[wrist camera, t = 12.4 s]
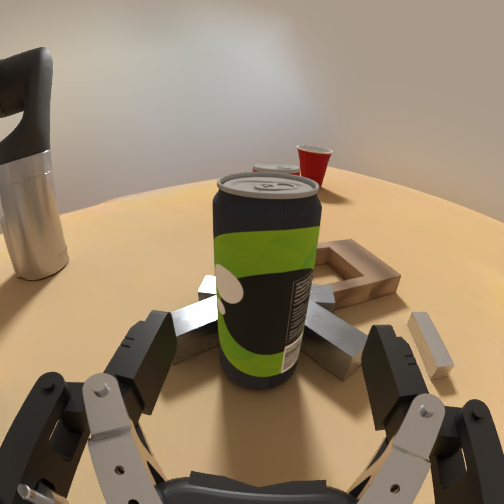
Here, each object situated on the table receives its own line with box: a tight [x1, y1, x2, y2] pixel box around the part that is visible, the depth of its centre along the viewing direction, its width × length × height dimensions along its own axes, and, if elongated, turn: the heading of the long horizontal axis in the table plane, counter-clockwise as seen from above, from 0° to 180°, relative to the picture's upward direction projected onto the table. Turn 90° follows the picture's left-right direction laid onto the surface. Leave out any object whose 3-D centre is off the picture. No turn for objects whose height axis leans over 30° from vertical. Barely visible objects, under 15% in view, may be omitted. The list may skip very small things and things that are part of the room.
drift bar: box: [407, 312, 454, 379], centre depth 22 cm, size 8×2×2 cm, turn 173°
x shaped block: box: [171, 276, 368, 381], centre depth 25 cm, size 10×18×3 cm, turn 83°
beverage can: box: [213, 172, 322, 389], centre depth 19 cm, size 6×6×15 cm
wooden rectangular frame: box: [315, 239, 401, 310], centre depth 33 cm, size 18×11×2 cm, turn 108°
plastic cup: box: [297, 145, 333, 188], centre depth 78 cm, size 11×11×12 cm
